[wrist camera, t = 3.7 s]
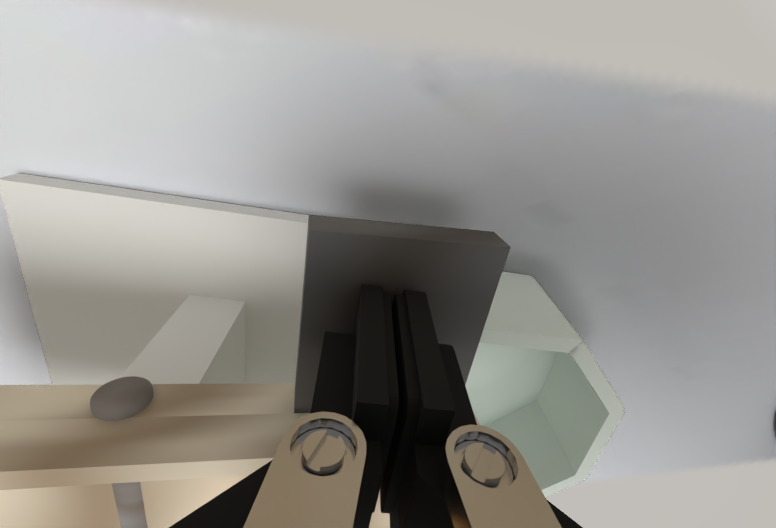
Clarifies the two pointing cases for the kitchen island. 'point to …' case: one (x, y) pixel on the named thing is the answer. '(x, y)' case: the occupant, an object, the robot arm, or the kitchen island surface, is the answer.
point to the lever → (227, 390)
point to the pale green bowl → (541, 386)
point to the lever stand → (157, 283)
